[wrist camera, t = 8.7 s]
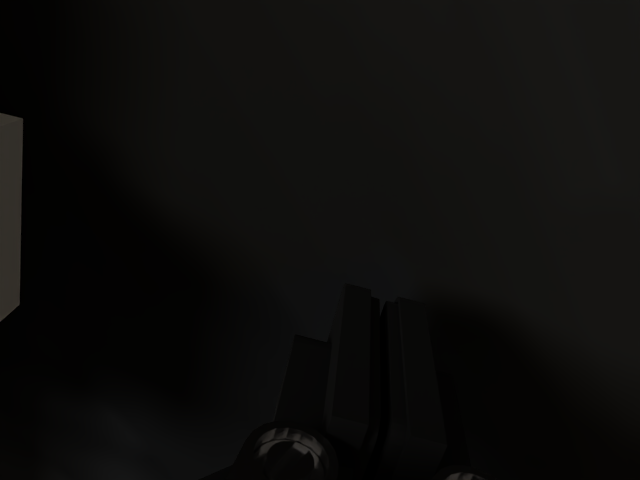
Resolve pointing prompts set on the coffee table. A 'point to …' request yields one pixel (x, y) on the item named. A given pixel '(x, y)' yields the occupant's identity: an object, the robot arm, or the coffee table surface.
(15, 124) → the teal shell
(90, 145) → the coffee table surface
